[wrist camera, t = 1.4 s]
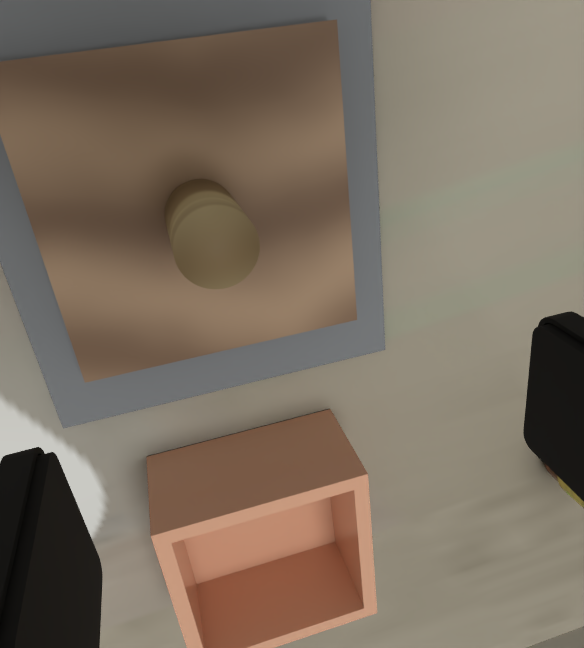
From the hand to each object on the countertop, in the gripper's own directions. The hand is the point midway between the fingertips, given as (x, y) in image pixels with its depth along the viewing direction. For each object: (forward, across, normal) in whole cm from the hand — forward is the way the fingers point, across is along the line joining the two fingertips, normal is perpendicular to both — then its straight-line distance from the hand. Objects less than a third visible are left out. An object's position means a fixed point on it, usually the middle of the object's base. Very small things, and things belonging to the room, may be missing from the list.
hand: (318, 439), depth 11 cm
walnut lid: (+18, 0, 0) cm, 18 cm away
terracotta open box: (+18, 0, +19) cm, 26 cm away
